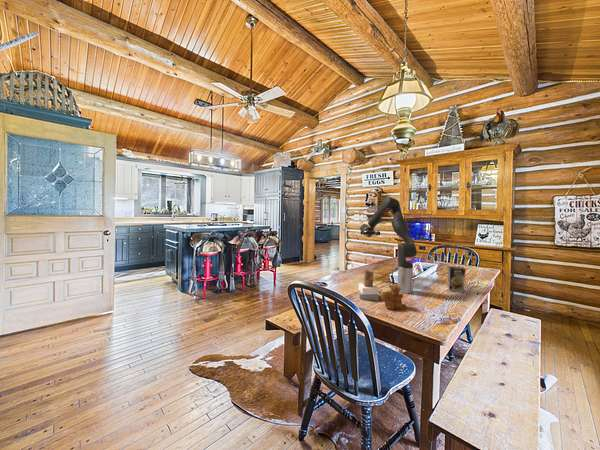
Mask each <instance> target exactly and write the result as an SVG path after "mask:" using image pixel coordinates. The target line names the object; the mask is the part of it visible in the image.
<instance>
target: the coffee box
mask: <svg viewBox="0 0 600 450" xmlns="http://www.w3.org/2000/svg"><path fill="white" fill-rule="evenodd" d="M465 280H466V268H464V267H462V266H461V267H459V266H448V269H447V281H446V283H447V284H446V286H447V287H446V289H447V290H448V291H449V292H455V293H457V292H458V293H464V292H465Z"/></svg>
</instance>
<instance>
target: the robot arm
mask: <svg viewBox="0 0 600 450" xmlns="http://www.w3.org/2000/svg"><path fill="white" fill-rule="evenodd" d="M400 205H401V204H400V202H399V200H398V199H397V198H393V197H392V196H387V197H385V198H384V199H383V201H382V202H381V204H380V205H379V207H378V208H377V210H376V212H375V213H374V214H373V216H371V218H370V219H369V220H368V221H367V223H364V224H361V225H360V228H359V229H360V230H359V231H360V236H365V237H367V238H372V237H373V236H381V231H379V230H374V229H375V228H376V227H377V226H378V224H379V223H380V221H382V217H383V214H384V213H383V212H385V211H386V210H389V211H391V212H392V213H391V214H392V215H393V218H392V220H391V225H392V229H393V232H394V233H395V234H396V235H397V236H398V237H399V238H400V239H402V241H404V243H399V244H398V246H397V263H398V266H397V268H398V269H397V285H398V286H399V287H400V288H401V289H402V290H400V292H399V294H413V292H414V279H413V270H414V264H413V262H411V261H408V260H407V258H414V257H416V255H417V252H418V251H417V246H416V244H415V242H414V240H413V239H412V236H411V234H410V232H409V228H408V226H407V223H406V221H405V218H404V215H403V212H402V208H401V206H400Z"/></svg>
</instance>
